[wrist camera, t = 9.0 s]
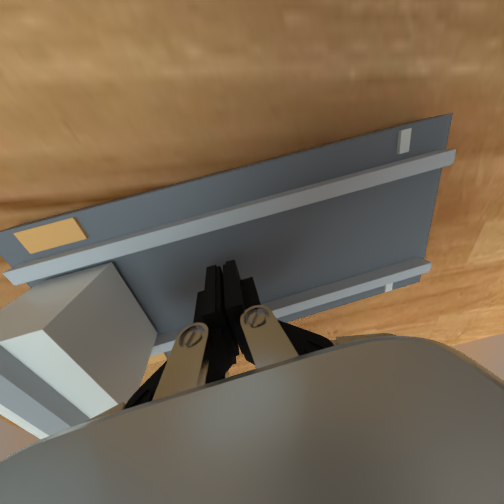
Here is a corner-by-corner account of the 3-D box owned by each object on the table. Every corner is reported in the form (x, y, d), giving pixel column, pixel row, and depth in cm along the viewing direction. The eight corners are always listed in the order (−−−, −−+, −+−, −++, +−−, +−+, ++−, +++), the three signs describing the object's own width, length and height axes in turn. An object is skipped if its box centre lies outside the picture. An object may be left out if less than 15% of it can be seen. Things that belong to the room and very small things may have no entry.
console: (420, 119, 13) (473, 108, 10) (399, 269, 18) (431, 288, 16) (19, 224, 12) (-40, 244, 9) (123, 352, 17) (105, 388, 14)
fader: (111, 261, 11) (27, 344, 6) (157, 333, 14) (124, 431, 9) (40, 281, 11) (-106, 382, 6) (101, 350, 14) (35, 459, 9)
